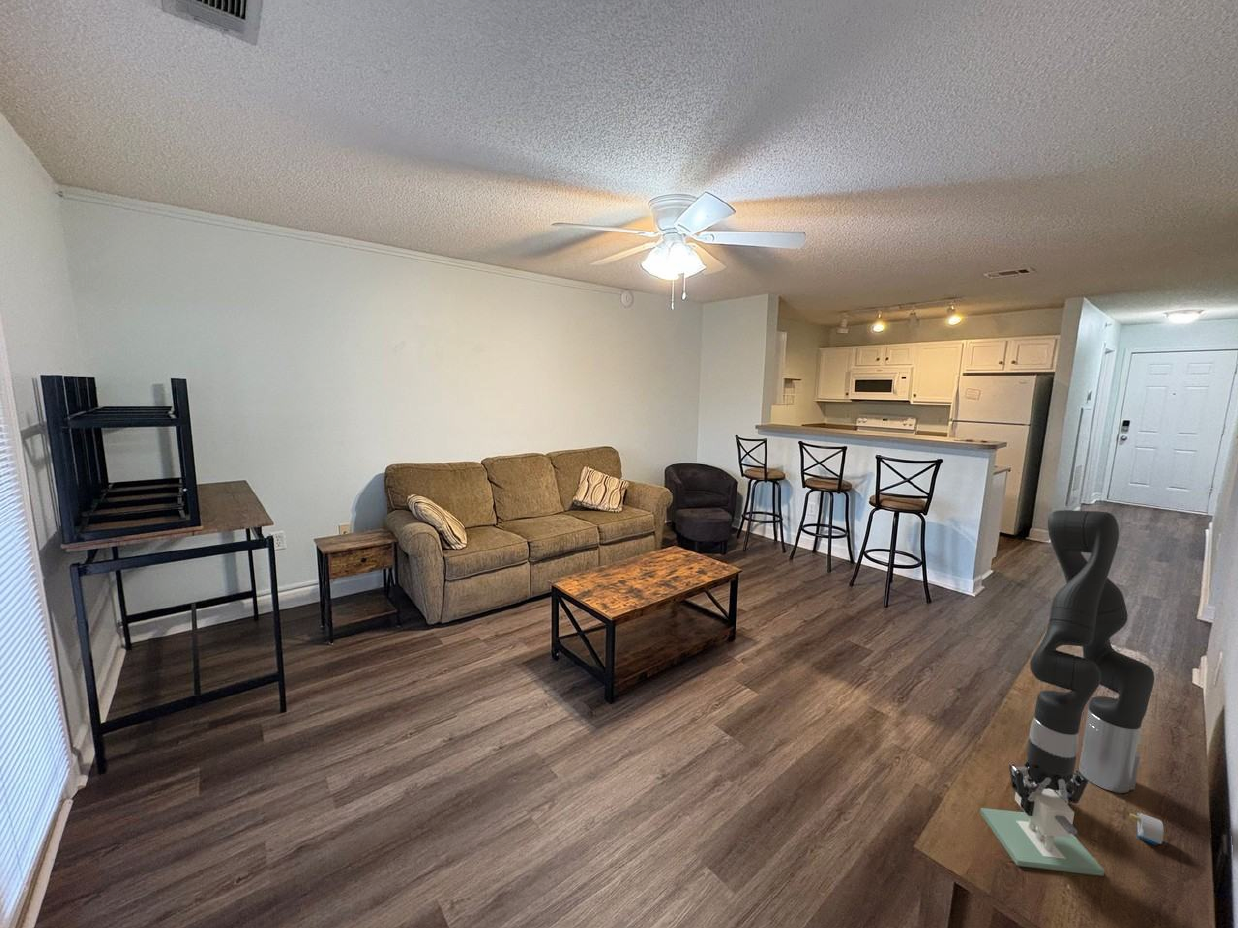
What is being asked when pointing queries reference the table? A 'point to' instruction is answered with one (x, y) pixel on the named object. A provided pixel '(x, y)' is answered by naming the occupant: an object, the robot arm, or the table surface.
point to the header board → (1038, 844)
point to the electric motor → (1149, 828)
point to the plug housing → (1051, 814)
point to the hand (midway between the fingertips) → (1041, 813)
